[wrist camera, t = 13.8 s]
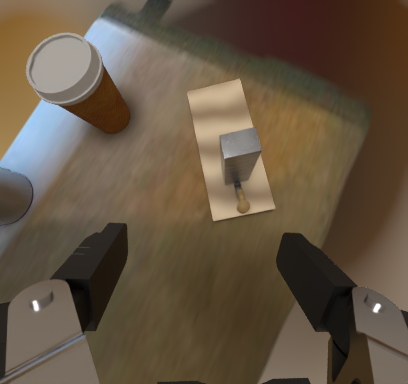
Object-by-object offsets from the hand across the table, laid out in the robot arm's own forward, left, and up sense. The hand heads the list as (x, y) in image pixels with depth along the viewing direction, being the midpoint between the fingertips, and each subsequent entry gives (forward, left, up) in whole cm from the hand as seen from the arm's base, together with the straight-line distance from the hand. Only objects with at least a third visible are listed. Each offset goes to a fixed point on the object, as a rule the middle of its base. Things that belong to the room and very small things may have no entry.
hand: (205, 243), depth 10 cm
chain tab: (-5, +8, -18) cm, 21 cm away
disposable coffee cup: (-28, +2, -20) cm, 34 cm away
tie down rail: (-8, +11, -20) cm, 24 cm away
